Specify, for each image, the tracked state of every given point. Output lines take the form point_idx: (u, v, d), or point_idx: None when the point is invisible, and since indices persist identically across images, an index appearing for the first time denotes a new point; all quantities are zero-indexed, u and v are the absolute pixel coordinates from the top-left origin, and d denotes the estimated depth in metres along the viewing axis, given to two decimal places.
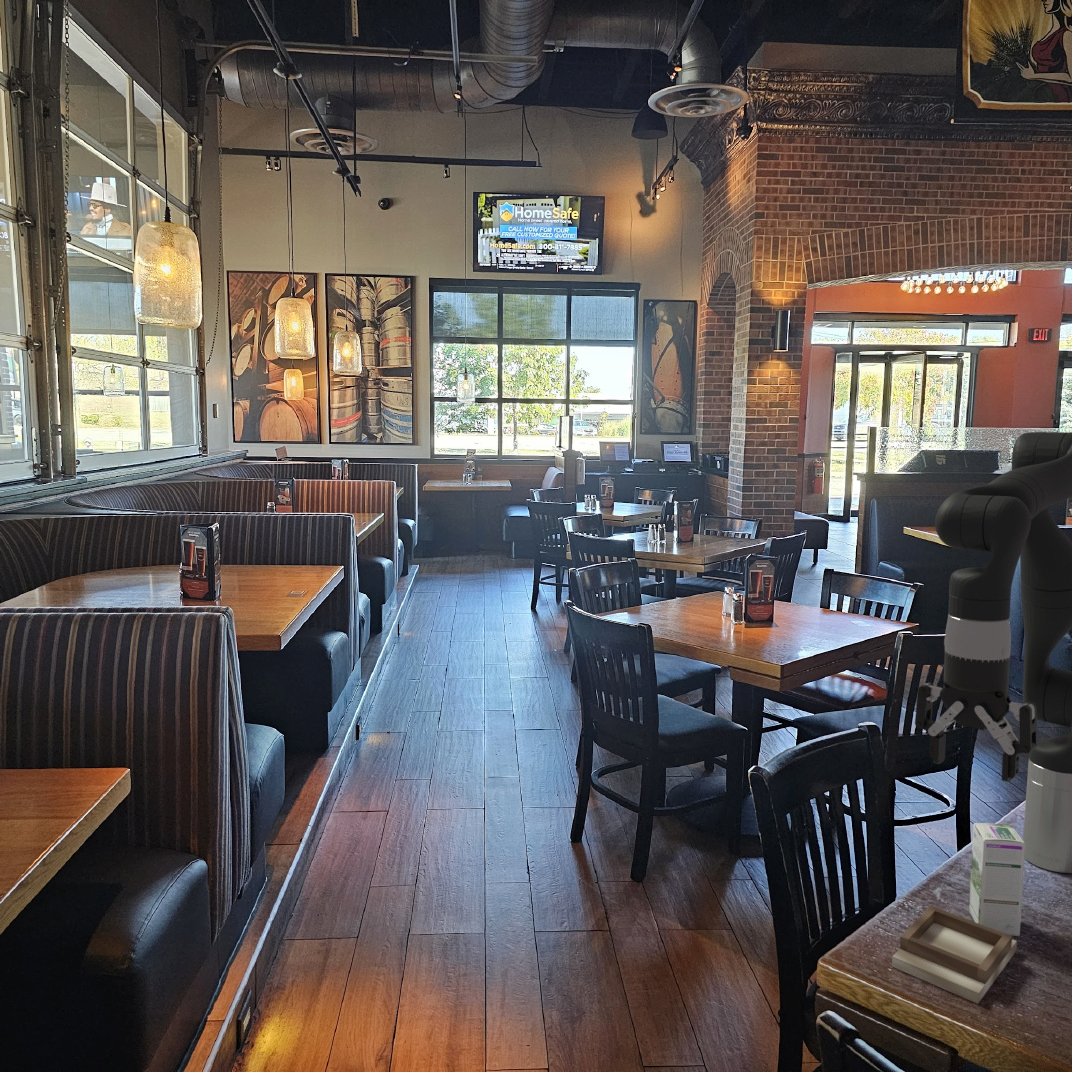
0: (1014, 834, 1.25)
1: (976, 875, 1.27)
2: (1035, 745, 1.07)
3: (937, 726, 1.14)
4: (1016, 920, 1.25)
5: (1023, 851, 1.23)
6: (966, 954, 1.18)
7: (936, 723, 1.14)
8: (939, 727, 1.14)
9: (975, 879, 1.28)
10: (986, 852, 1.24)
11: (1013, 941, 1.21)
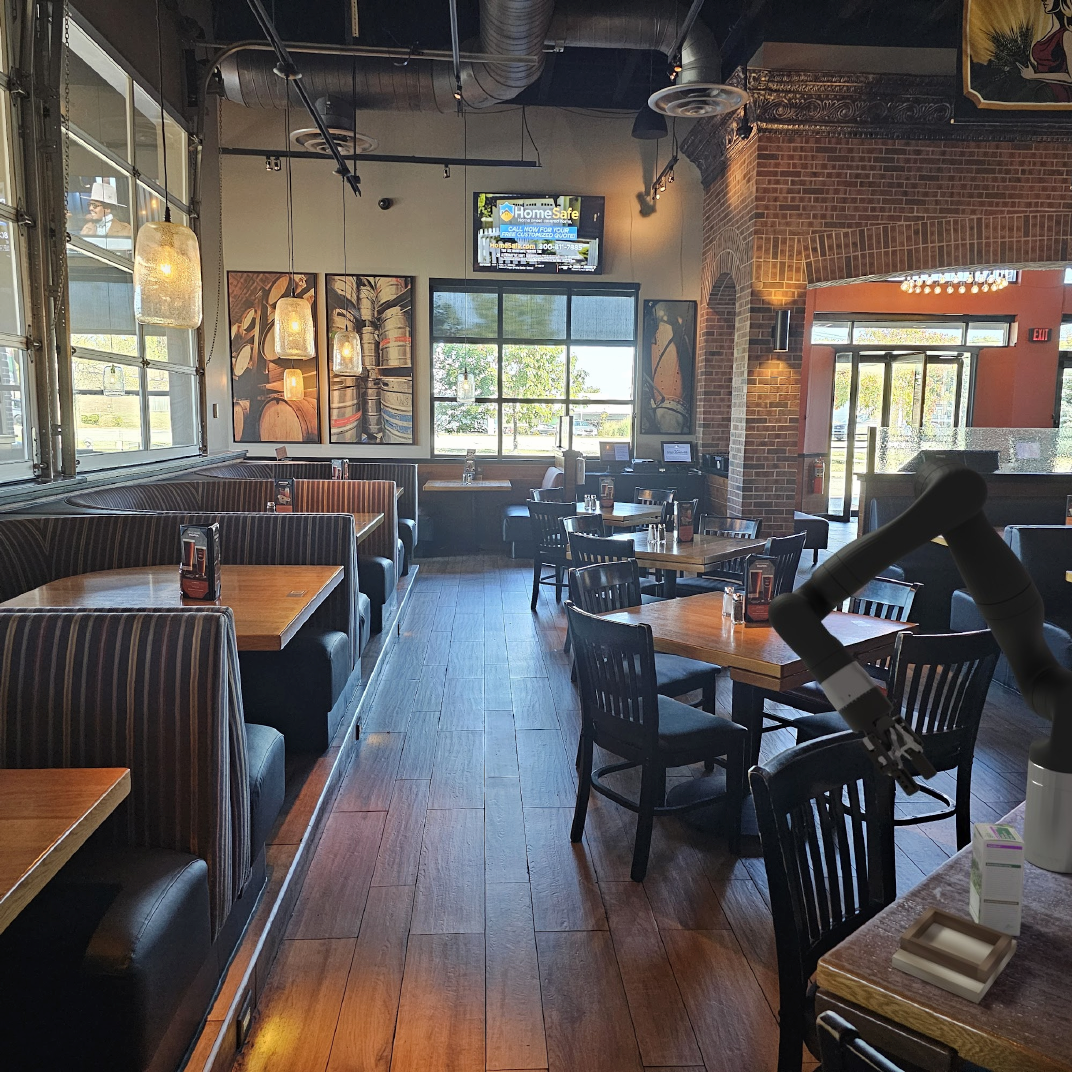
0: (1014, 834, 1.25)
1: (976, 875, 1.27)
2: (889, 766, 1.29)
3: None
4: (1016, 920, 1.25)
5: (1023, 851, 1.23)
6: (966, 954, 1.18)
7: None
8: None
9: (975, 879, 1.28)
10: (986, 852, 1.24)
11: (1013, 941, 1.21)
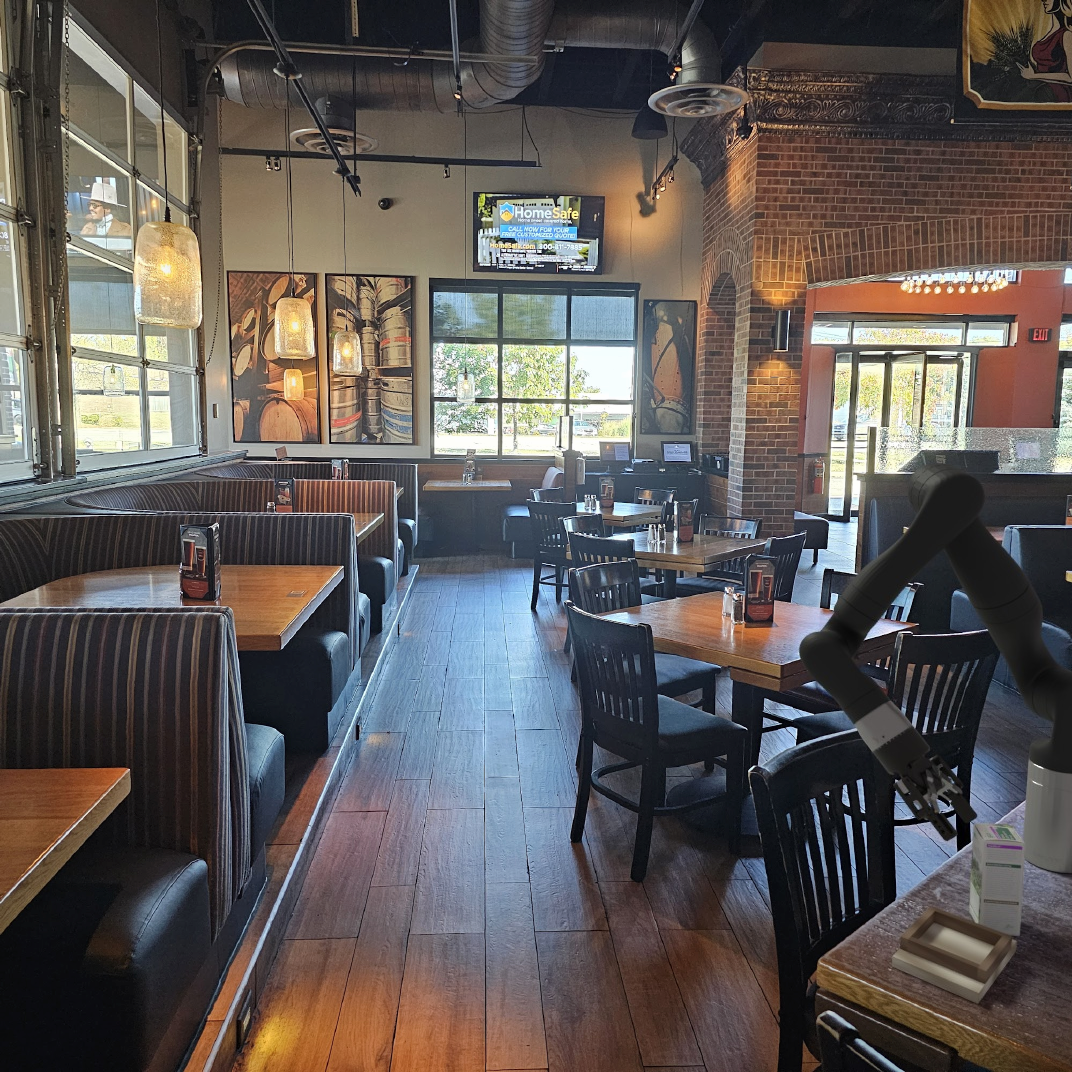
0: (1014, 834, 1.25)
1: (976, 875, 1.27)
2: (924, 811, 1.27)
3: None
4: (1016, 920, 1.25)
5: (1023, 851, 1.23)
6: (966, 954, 1.18)
7: None
8: None
9: (975, 879, 1.28)
10: (986, 852, 1.24)
11: (1013, 941, 1.21)
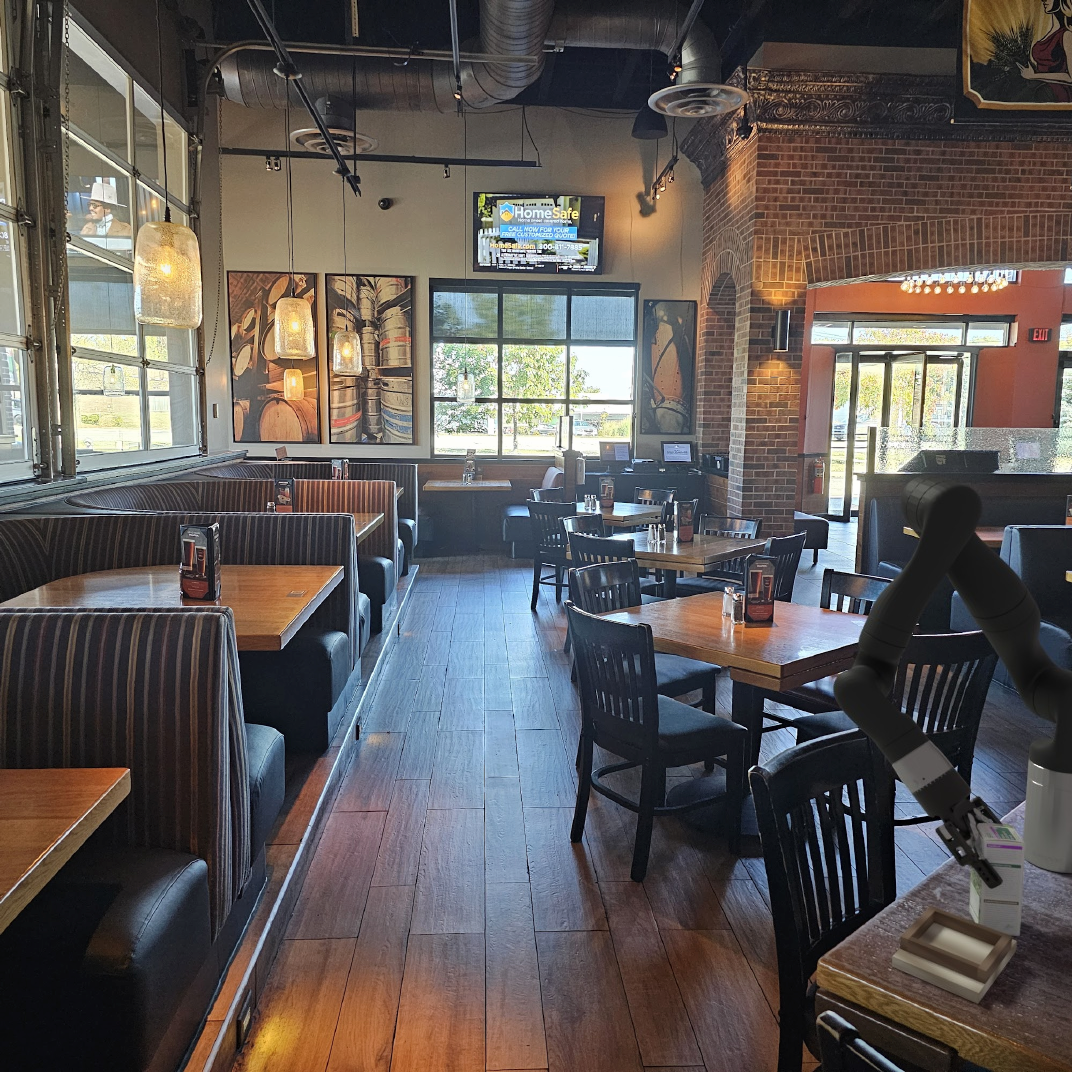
0: (1014, 834, 1.25)
1: (976, 875, 1.27)
2: (969, 858, 1.23)
3: None
4: (1016, 920, 1.25)
5: (1023, 851, 1.23)
6: (966, 954, 1.18)
7: None
8: None
9: (975, 879, 1.28)
10: (986, 852, 1.24)
11: (1013, 941, 1.21)
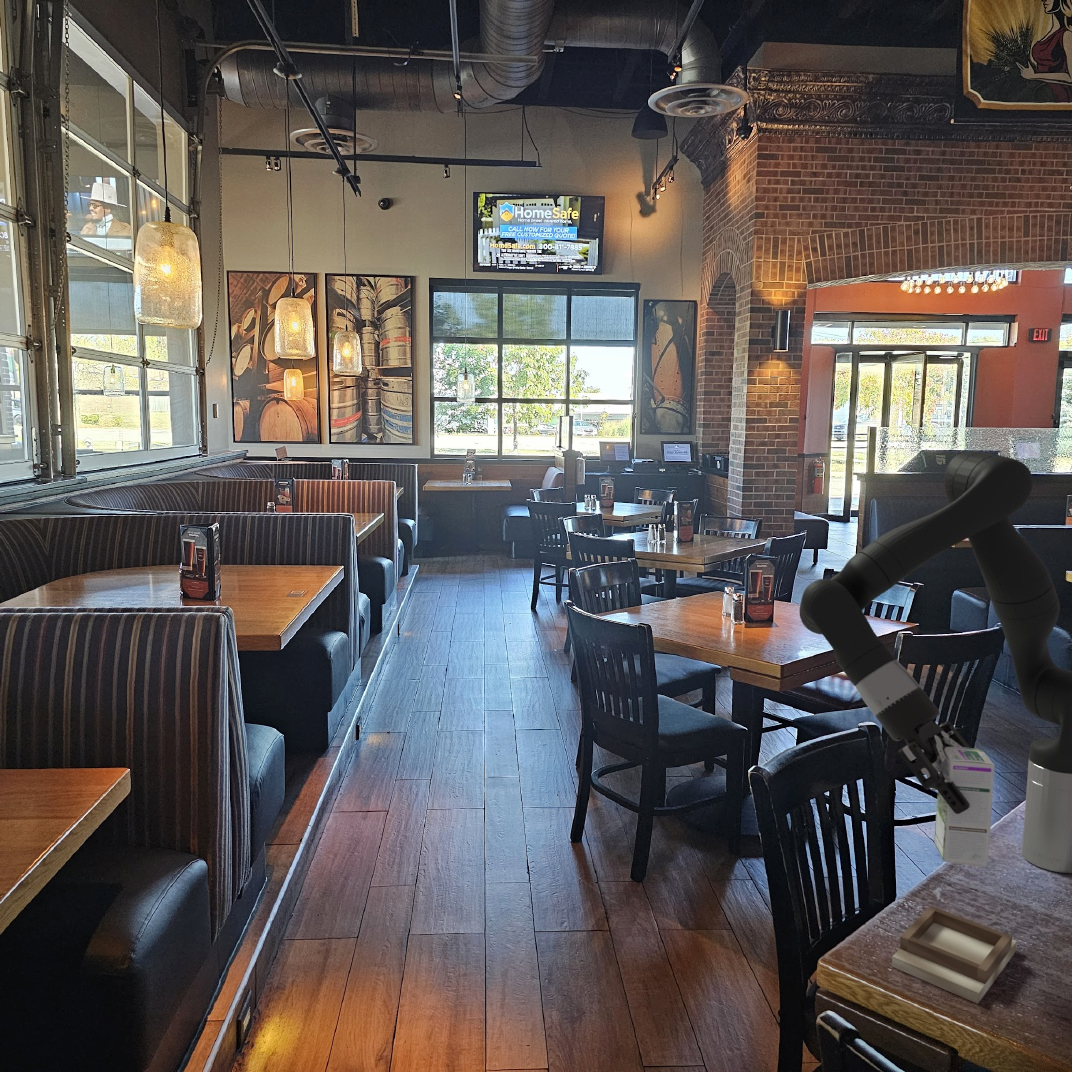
0: (983, 757, 1.16)
1: (942, 801, 1.18)
2: (933, 780, 1.13)
3: None
4: (984, 850, 1.15)
5: (992, 774, 1.14)
6: (966, 954, 1.18)
7: None
8: None
9: (941, 806, 1.18)
10: (952, 774, 1.15)
11: (1013, 941, 1.21)
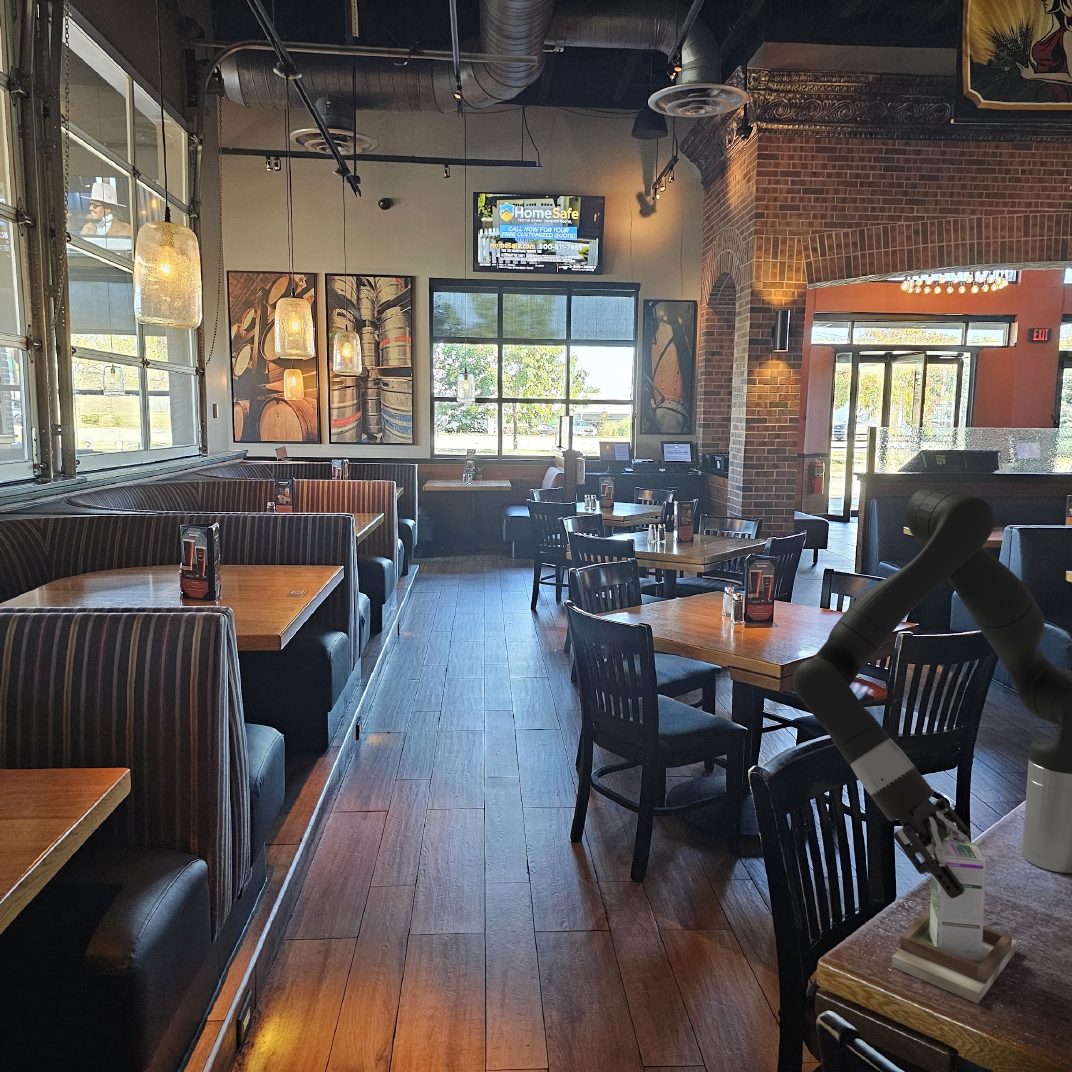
0: (976, 852, 1.17)
1: (935, 895, 1.19)
2: (928, 865, 1.14)
3: None
4: (977, 945, 1.16)
5: (984, 871, 1.14)
6: None
7: None
8: None
9: (934, 900, 1.19)
10: None
11: (1013, 941, 1.21)
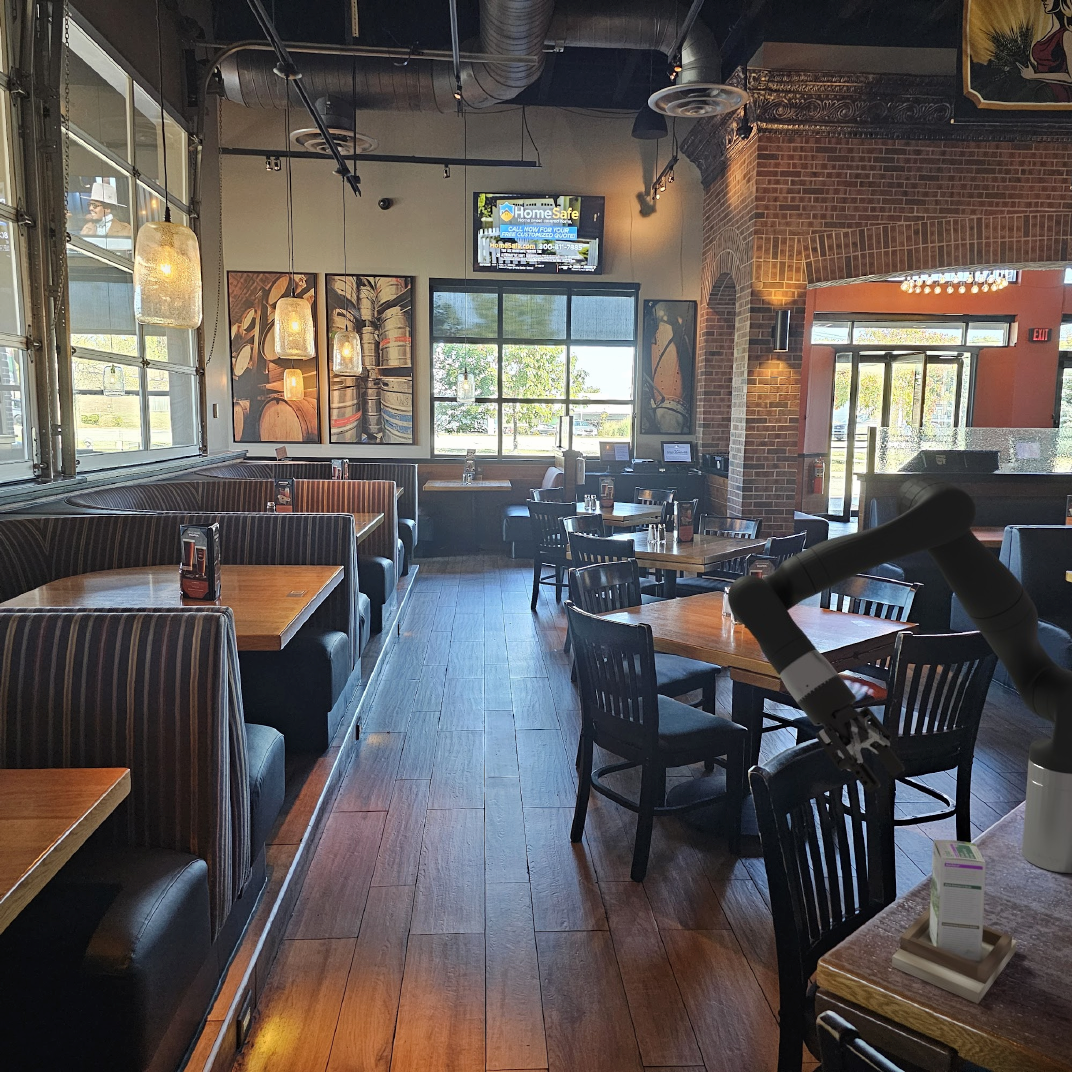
0: (975, 853, 1.17)
1: (935, 896, 1.18)
2: (846, 761, 1.21)
3: None
4: (977, 946, 1.16)
5: (984, 871, 1.14)
6: None
7: None
8: None
9: (934, 900, 1.19)
10: (943, 871, 1.16)
11: (1013, 941, 1.21)
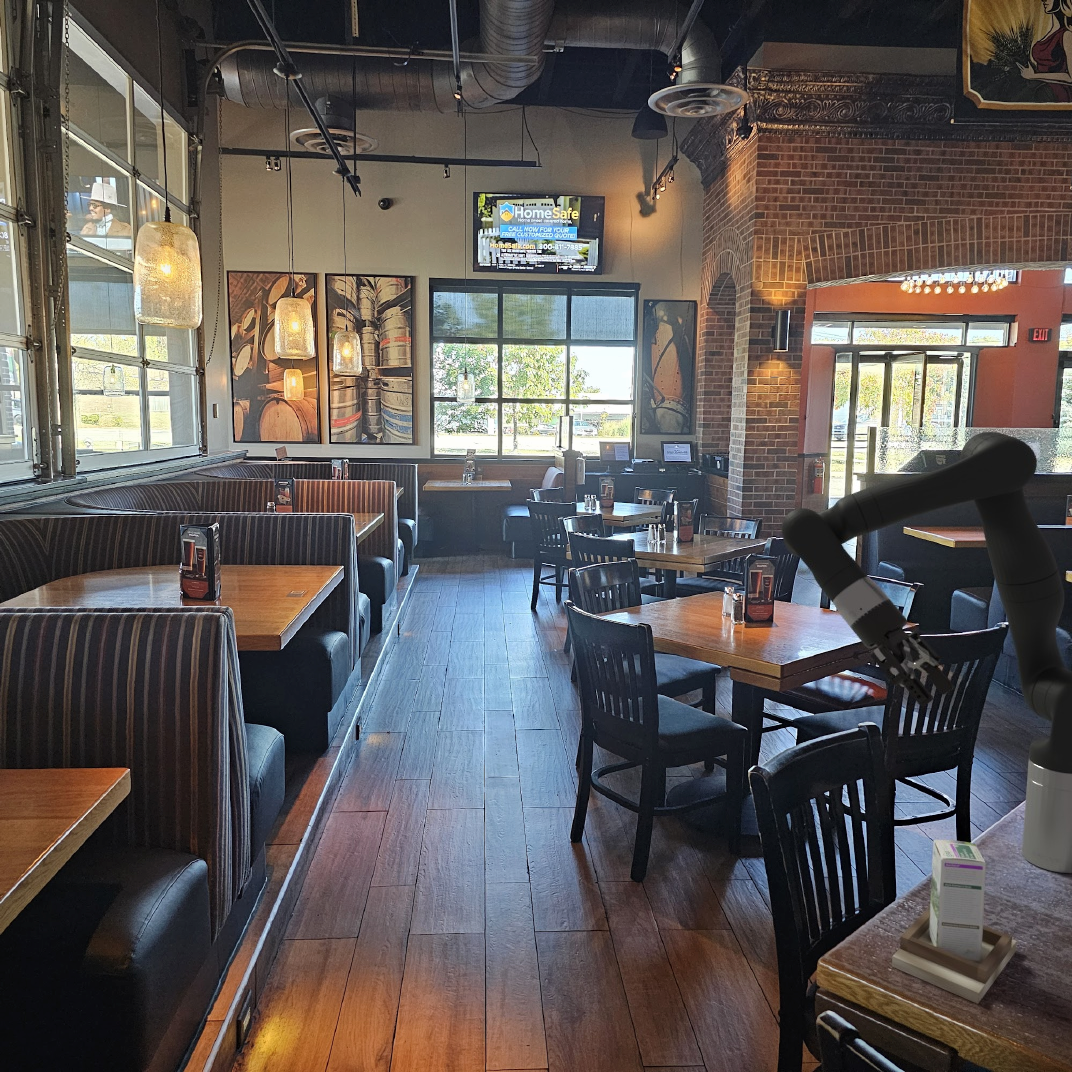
0: (975, 853, 1.17)
1: (935, 896, 1.18)
2: (900, 676, 1.27)
3: None
4: (977, 946, 1.16)
5: (984, 871, 1.14)
6: None
7: None
8: None
9: (934, 900, 1.19)
10: (943, 871, 1.16)
11: (1013, 941, 1.21)
